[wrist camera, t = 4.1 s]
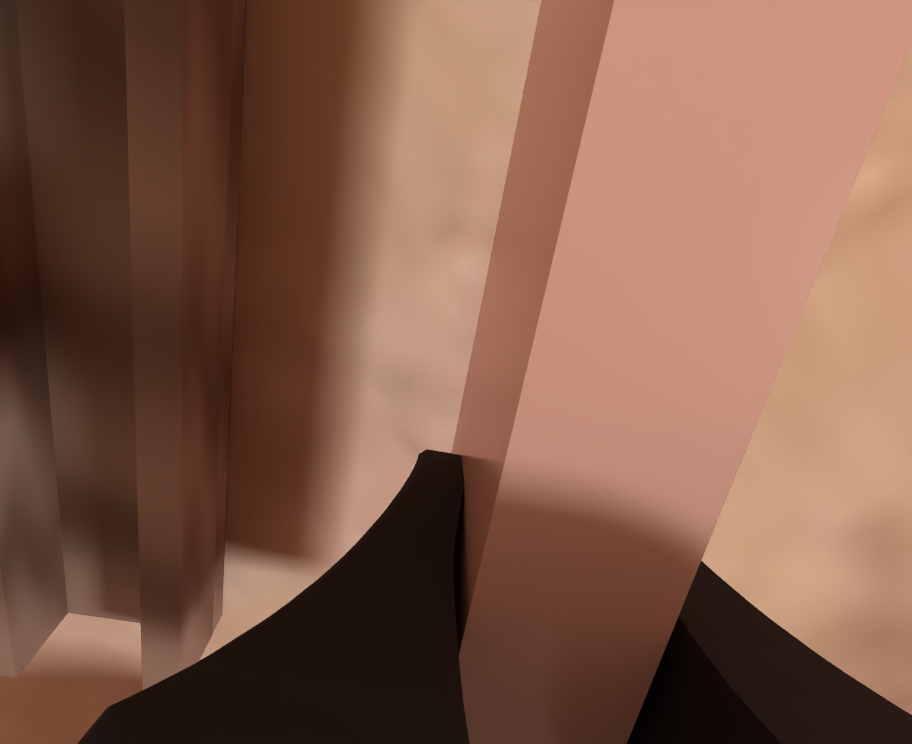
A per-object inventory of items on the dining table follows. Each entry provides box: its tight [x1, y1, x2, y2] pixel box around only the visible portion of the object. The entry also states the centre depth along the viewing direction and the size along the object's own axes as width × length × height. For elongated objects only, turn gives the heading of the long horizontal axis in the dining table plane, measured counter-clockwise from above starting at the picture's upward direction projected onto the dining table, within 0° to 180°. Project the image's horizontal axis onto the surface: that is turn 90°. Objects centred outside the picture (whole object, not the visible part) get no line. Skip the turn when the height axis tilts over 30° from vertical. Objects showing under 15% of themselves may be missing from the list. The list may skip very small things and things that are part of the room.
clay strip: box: [452, 0, 912, 744], centre depth 9 cm, size 16×2×6 cm, turn 170°
